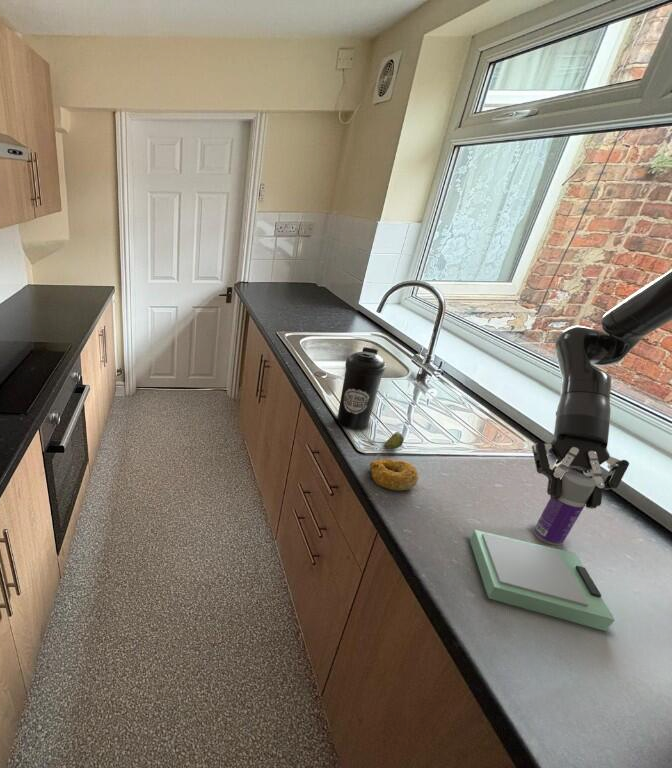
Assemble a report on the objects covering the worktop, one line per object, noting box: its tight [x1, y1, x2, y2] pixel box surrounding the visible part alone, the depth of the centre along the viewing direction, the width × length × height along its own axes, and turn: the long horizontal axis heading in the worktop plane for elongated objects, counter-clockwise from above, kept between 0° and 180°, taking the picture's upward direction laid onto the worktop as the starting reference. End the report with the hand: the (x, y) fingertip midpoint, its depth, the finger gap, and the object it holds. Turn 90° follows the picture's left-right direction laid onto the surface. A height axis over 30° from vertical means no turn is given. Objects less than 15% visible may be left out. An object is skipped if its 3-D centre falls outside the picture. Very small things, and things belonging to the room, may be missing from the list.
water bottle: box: [336, 346, 387, 431], centre depth 120 cm, size 10×10×23 cm
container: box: [533, 470, 596, 546], centre depth 82 cm, size 5×5×15 cm
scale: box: [469, 529, 615, 632], centre depth 75 cm, size 16×14×4 cm
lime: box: [384, 431, 405, 450], centre depth 112 cm, size 4×5×5 cm
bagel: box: [369, 458, 419, 491], centre depth 100 cm, size 10×11×5 cm
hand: (573, 502), depth 79 cm, fingers closed on container, 4 cm apart
